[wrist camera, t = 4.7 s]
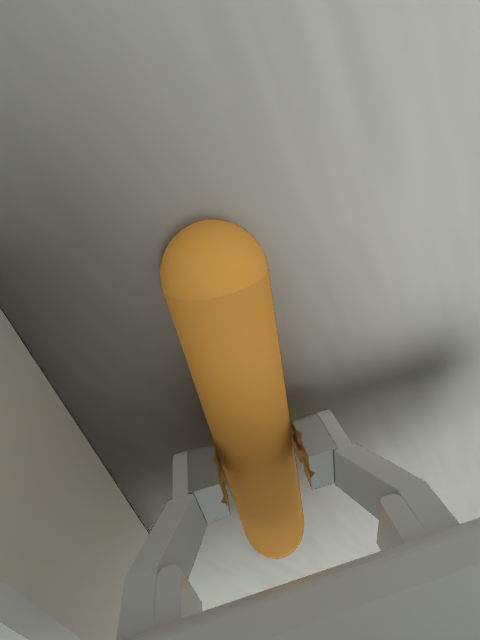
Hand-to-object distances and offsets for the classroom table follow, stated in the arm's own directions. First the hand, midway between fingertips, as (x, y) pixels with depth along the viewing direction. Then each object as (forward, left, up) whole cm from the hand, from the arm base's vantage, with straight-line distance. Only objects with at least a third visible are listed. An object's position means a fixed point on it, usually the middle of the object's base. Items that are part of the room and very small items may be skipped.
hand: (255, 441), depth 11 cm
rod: (0, 0, -2) cm, 2 cm away
